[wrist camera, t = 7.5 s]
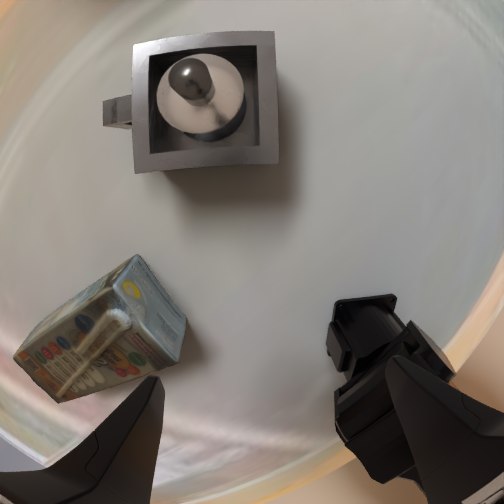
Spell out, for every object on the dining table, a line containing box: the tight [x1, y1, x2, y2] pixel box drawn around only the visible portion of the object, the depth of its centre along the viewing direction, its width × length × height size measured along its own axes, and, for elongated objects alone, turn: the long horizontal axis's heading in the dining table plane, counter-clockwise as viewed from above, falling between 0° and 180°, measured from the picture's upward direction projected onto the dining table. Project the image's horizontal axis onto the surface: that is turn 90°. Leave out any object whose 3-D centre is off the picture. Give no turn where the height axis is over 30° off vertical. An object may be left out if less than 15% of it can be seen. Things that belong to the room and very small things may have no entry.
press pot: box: [103, 31, 279, 174], centre depth 15 cm, size 10×8×5 cm
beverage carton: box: [13, 254, 187, 404], centre depth 21 cm, size 8×19×7 cm, turn 119°
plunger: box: [157, 54, 247, 142], centre depth 13 cm, size 5×5×9 cm
